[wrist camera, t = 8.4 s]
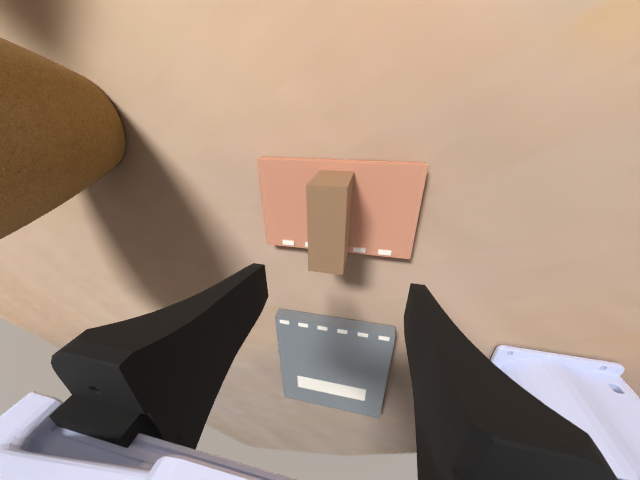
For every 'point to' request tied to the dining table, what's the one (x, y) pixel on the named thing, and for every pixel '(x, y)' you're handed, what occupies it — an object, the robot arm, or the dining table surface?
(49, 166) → the plant pot
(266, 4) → the dining table surface
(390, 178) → the stub
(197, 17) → the dining table surface
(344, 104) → the dining table surface
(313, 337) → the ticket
